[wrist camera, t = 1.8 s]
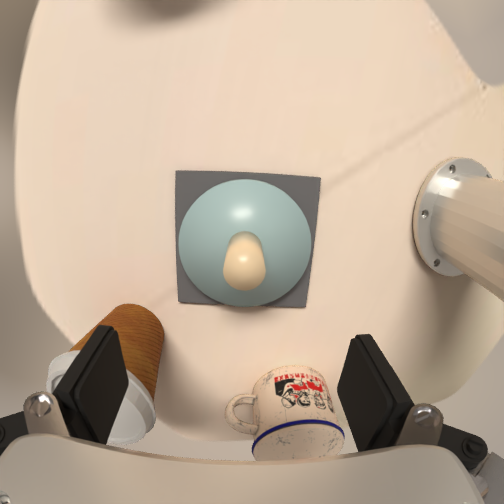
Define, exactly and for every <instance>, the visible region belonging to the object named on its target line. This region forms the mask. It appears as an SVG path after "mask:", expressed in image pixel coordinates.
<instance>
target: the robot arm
mask: <svg viewBox="0 0 504 504" xmlns="http://www.w3.org/2000/svg"><path fill="white" fill-rule="evenodd" d="M413 231H414V239H415V243H416V247H417V250H418V252H419V254H420V256H421V258H422V259H423V261H424V262H425V263H426V265H428V266H429V267H430V268H431V269H433V270H434V271H435V272H437V273H439V274H441V275H444V276H459V275H463V274H466V275H468V276H469V277H470V278H472V279H473V280H475V281H476V282H478V283H479V284H480V285H482V286H483V287H484V288H486V289H487V290H489V291H490V292H491V293H493V294H494V295H495V296H497V297H498V298H499V299H501V300H502V301H503V302H504V181H500V180H496V179H493V178H492V176H491V174H490V173H489V172H488V170H487V169H486V168H485V167H484V166H483V165H481V164H480V163H479V162H477V161H475V160H473V159H469V158H462V157H455V158H451V159H447V160H445V161H444V162H442V163H440V164H439V165H438V166H437V167H435V168H434V169H433V170H432V171H431V173H430V174H429V175H428V177H427V178H426V179H425V181H424V183H423V185H422V187H421V189H420V191H419V194H418V197H417V200H416V204H415V210H414V217H413ZM128 385H129V379H128V375H127V371H126V367H125V363H124V358H123V354H122V350H121V345H120V340H119V335H118V332H117V330H114V328H113V327H112V326H107V325H98V326H97V328H96V329H95V331H94V332H93V333H92V335H91V336H90V338H89V339H88V341H87V342H86V344H85V345H84V346H83V348H82V349H81V351H80V352H79V354H78V355H77V356H76V357H75V359H74V360H73V362H72V363H71V365H70V366H69V368H68V369H67V371H66V372H65V374H64V376H63V377H62V379H61V380H60V382H59V383H58V385H57V386H56V388H55V390H54V391H53V393H52V394H51V393H49V392H44V391H41V392H36V393H33V394H31V395H30V396H29V397H28V398H27V399H26V400H25V402H24V405H23V410H24V411H22V412H19V413H16V414H12V415H9V416H6V417H3V418H0V504H504V459H503V458H501V457H500V456H498V455H497V454H495V453H494V452H491V454H489V453H488V451H487V450H488V448H487V445H486V443H485V441H484V440H483V439H482V438H480V437H478V436H476V435H473V434H470V433H467V432H465V431H462V430H459V429H456V428H454V427H451V426H448V425H445V424H443V415H442V413H441V412H440V410H439V409H437V408H436V407H435V406H432V405H430V404H426V403H422V404H417V405H414V403H413V401H412V400H411V398H410V396H409V395H408V393H407V391H406V390H405V388H404V386H403V385H402V383H401V381H400V380H399V378H398V376H397V375H396V373H395V372H394V370H393V368H392V367H391V365H390V364H389V363H388V361H387V359H386V358H385V356H384V355H383V353H382V351H381V350H380V348H379V347H378V345H377V344H376V342H375V340H374V339H373V337H372V336H371V335H370V334H362V335H356V336H355V338H353V339H351V342H350V345H349V349H348V353H347V356H346V360H345V363H344V367H343V370H342V373H341V377H340V380H339V383H338V387H337V392H338V396H339V399H340V401H341V404H342V407H343V410H344V412H345V415H346V418H347V421H348V424H349V426H350V429H351V432H352V435H353V438H354V441H355V443H356V446H357V449H358V452H356V453H349V454H342V455H334V456H327V457H318V458H307V459H294V460H275V461H225V460H207V459H194V458H183V457H174V456H166V455H159V454H152V453H145V452H140V451H134V450H129V449H124V448H119V447H114V446H109V445H106V443H107V441H108V438H109V435H110V433H111V430H112V427H113V425H114V422H115V419H116V417H117V414H118V411H119V409H120V406H121V404H122V401H123V399H124V396H125V394H126V391H127V389H128Z"/></svg>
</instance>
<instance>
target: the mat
mask: <svg viewBox="0 0 504 504" xmlns="http://www.w3.org/2000/svg"><path fill="white" fill-rule="evenodd" d="M236 179H254V180H260V181H264V182H267V183H269V184H272V185H274V186H276V187H277V188H279V189H281V190H282V191H284V192H285V193H286V194H288V195H289V196H290V197H291V198H292V199H293V200H294V201H295V203H296V204H297V205H298V206H299V208H300V209H301V210H302V212H303V214H304V216H305V218H306V220H307V223H308V225H309V229H310V234H311V253H310V258H309V262H308V265H307V267H306V269H305V271H304V273H303V275H302V277H301V278H300V280H299V281H298V282H297V283H296V284H295V286H294V287H293V288H292V289H290V290H289V291H288V292H287V293H286V294H284V295H283V296H281V297H280V298H278V299H276V300H274V301H271V302H269V303H266V304H262V305H259V306H281V307H306V300H307V293H308V286H309V279H310V272H311V264H312V256H313V248H314V240H315V231H316V222H317V212H318V202H319V192H320V181H321V178H319V177H308V176H296V175H283V174H268V173H250V172H227V171H176V180H175V228H176V265H177V287H178V302H190V303H207V304H224V303H221V302H218V301H216V300H214V299H212V298H210V297H209V296H207V295H206V294H204V293H203V292H202V291H201V290H199V289H198V288H197V287H196V286H195V285H194V284H193V282H192V281H191V280H190V278H189V277H188V275H187V273H186V272H185V270H184V268H183V265H182V262H181V259H180V255H179V246H178V243H179V233H180V228H181V225H182V222H183V219H184V217H185V215H186V213H187V212H188V210H189V209H190V207H191V206H192V204H193V203H194V202H195V201H196V200H197V199H198V198H199V197H200V196H201V195H202V194H204V193H205V192H206V191H207V190H209V189H211V188H212V187H214V186H216V185H218V184H220V183H223V182H226V181H230V180H236ZM226 305H227V304H226Z"/></svg>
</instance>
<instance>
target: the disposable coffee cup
mask: <svg viewBox="0 0 504 504" xmlns="http://www.w3.org/2000/svg"><path fill="white" fill-rule="evenodd" d="M98 325H107V326H112V327H113V328H114V330H117V332H118V335H119V340H120V345H121V350H122V354H123V358H124V363H125V367H126V371H127V375H128V379H129V385H128V389H127V391H126V394H125V396H124V399H123V401H122V404H121V406H120V409H119V411H118V414H117V417H116V419H115V422H114V425H113V427H112V430H111V433H110V435H109V438H108V441H107V442H108V443H113V444H126V445H127V444H131V443H136V442H138V441H139V440H140V439H142V438H143V437H144V436H145V434H146V433H148V432H149V431H150V430H151V429H152V428H153V426H154V424H155V421H156V413H155V407H154V403H153V401H154V394H155V387H156V382H157V373H158V368H159V362H160V356H161V350H162V344H163V340H164V331H163V328H162V325H161V323H160V321H159V320H158V318H157V317H156V316H155V315H154V314H153V313H152V312H150V311H149V310H147V309H146V308H144V307H142V306H139V305H135V304H123V305H120V306H118V307H116V308H115V309H114V310H113V311H112V312H110V313H109V314H108V315H107V316H106V317H105V318H104V319H103V320H102V321H101V322H99V323H98V324H97V325H96V326H95V327H94V328H93V329H92V330H91V331H90V332H89V333H87V334H86V335H85V336H84V337H83V338H82V339H81V340H80V341H79V342H78V343H77V344H76V345H75V346H74V347H73V348H71V350H70V351H69V352H66V353H64V354H61V355H60V356H57V357H56V358H55V359H54V360H53V361H52V362H51V364H50V366H49V369H48V379H47V384H46V385H47V392H49V393H51V394H52V393H53V391H54V390H55V388H56V386H57V385H58V383H59V382H60V380H61V379H62V377H63V376H64V374H65V372H66V371H67V369H68V368H69V366H70V365H71V363H72V362H73V360H74V359H75V357H76V356H77V355H78V354H79V352H80V351H81V349H82V348H83V346H84V345H85V344H86V342H87V341H88V339H89V338H90V336H91V335H92V333H93V332H94V331H95V329H96V328H97V326H98Z"/></svg>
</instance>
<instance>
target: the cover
mask: <svg viewBox="0 0 504 504" xmlns="http://www.w3.org/2000/svg"><path fill="white" fill-rule="evenodd" d="M178 246H179V255H180V259H181V262H182V265H183V268H184V270H185V272H186V273H187V275H188V277H189V278H190V280H191V281H192V282H193V284H194V285H195V286H196V287H197V288H198V289H199V290H201V291H202V292H203V293H204V294H206V295H207V296H209V297H210V298H212V299H214V300H216V301H218V302H221V303H224V304H227V305H232V306H239V307H251V306H259V305H262V304H266V303H269V302H271V301H274V300H276V299H278V298H280V297H281V296H283V295H284V294H286V293H287V292H288V291H289V290H290V289H292V288H293V287H294V286H295V284H296V283H297V282H298V281H299V280H300V278H301V277H302V275H303V273H304V271H305V269H306V267H307V265H308V262H309V258H310V253H311V234H310V229H309V225H308V223H307V220H306V218H305V216H304V214H303V212H302V210H301V209H300V208H299V206H298V205H297V204H296V203H295V201H294V200H293V199H292V198H291V197H290V196H289V195H288V194H286V193H285V192H284V191H282V190H281V189H279V188H277V187H276V186H274V185H272V184H269V183H267V182H264V181H260V180H254V179H236V180H230V181H226V182H223V183H220V184H218V185H216V186H214V187H212V188H211V189H209V190H207V191H206V192H205V193H204V194H202V195H201V196H200V197H199V198H198V199H197V200H196V201H195V202H194V203H193V204H192V206H191V207H190V209H189V210H188V212H187V213H186V215H185V217H184V219H183V222H182V225H181V228H180V233H179V243H178Z"/></svg>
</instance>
